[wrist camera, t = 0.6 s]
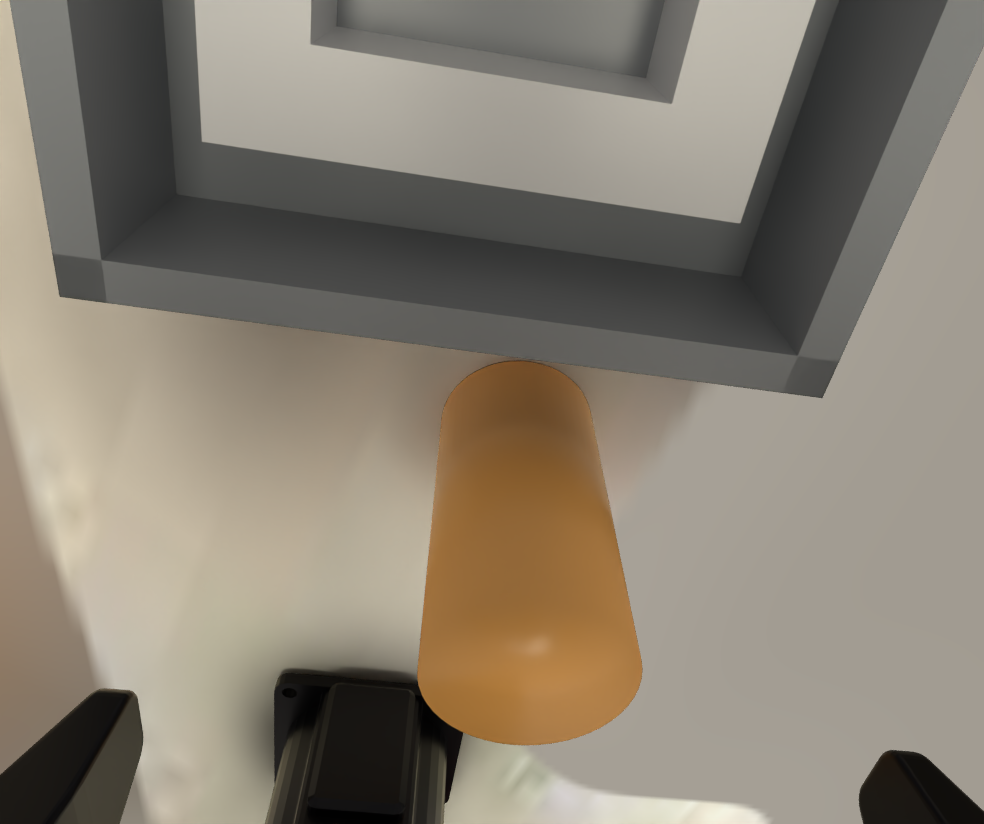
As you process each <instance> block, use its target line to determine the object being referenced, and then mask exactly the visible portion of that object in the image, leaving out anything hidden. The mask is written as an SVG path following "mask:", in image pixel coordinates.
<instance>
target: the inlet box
mask: <svg viewBox="0 0 984 824" xmlns="http://www.w3.org/2000/svg"><path fill="white" fill-rule="evenodd" d="M10 5H11V11H12V17H13V23H14V29H15V35H16V41H17V47H18V53H19V59H20V65H21V71H22V76H23V82H24V88H25V94H26V100H27V106H28V112H29V118H30V124H31V130H32V136H33V142H34V147H35V153H36V159H37V165H38V171H39V177H40V183H41V189H42V195H43V201H44V207H45V213H46V218H47V224H48V230H49V236H50V242H51V248H52V254H53V260H54V266H55V272H56V278H57V284H58V289H59V295H60V297H66V298H73V299H81V300H88V301H96V302H103V303H111V304H118V305H126V306H133V307H141V308H149V309H156V310H164V311H171V312H179V313H186V314H194V315H201V316H209V317H216V318H224V319H231V320H239V321H246V322H254V323H261V324H269V325H276V326H284V327H291V328H299V329H306V330H314V331H321V332H329V333H337V334H344V335H352V336H359V337H367V338H374V339H382V340H389V341H397V342H404V343H412V344H419V345H427V346H434V347H442V348H449V349H457V350H464V351H472V352H479V353H487V354H494V355H502V356H509V357H517V358H525V359H532V360H540V361H547V362H555V363H562V364H570V365H577V366H585V367H592V368H600V369H607V370H615V371H622V372H630V373H637V374H645V375H652V376H660V377H667V378H675V379H682V380H690V381H697V382H705V383H713V384H720V385H728V386H735V387H743V388H750V389H758V390H765V391H773V392H780V393H788V394H795V395H803V396H810V397H818V398H822V397H823V395H824V393H825V391H826V389H827V387H828V384H829V382H830V380H831V378H832V376H833V374H834V371H835V369H836V367H837V365H838V363H839V360H840V358H841V356H842V354H843V352H844V350H845V347H846V345H847V343H848V340H849V338H850V336H851V334H852V332H853V330H854V327H855V326H856V323H857V321H858V319H859V317H860V314H861V312H862V310H863V308H864V306H865V304H866V301H867V299H868V297H869V295H870V293H871V291H872V288H873V286H874V284H875V282H876V279H877V277H878V275H879V273H880V271H881V269H882V266H883V264H884V262H885V260H886V258H887V255H888V253H889V251H890V249H891V247H892V245H893V243H894V240H895V238H896V236H897V234H898V232H899V230H900V227H901V225H902V223H903V221H904V219H905V216H906V214H907V212H908V210H909V207H910V206H911V203H912V201H913V199H914V197H915V194H916V192H917V190H918V188H919V186H920V184H921V181H922V179H923V177H924V175H925V173H926V171H927V168H928V166H929V164H930V162H931V160H932V157H933V155H934V153H935V151H936V149H937V147H938V144H939V142H940V140H941V138H942V136H943V134H944V131H945V129H946V127H947V124H948V122H949V120H950V118H951V116H952V114H953V112H954V110H955V107H956V105H957V103H958V100H959V99H960V96H961V94H962V92H963V90H964V88H965V86H966V83H967V81H968V79H969V77H970V74H971V72H972V70H973V68H974V66H975V64H976V61H977V59H978V57H979V55H980V53H981V51H982V48H983V46H984V0H10Z"/></svg>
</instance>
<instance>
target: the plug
mask: <svg viewBox="0 0 984 824" xmlns="http://www.w3.org/2000/svg"><path fill="white" fill-rule="evenodd" d="M417 678H418V685H419V688H420V691H421V694H422V696H423V698H424V700H425V701H426V703H427V705H428V706H429V707H430V708H431V709H432V711H433V712H434V713H435V714H436V715H437V716H439V717H440V718H441V719H442V720H443V721H445V722H446V723H448V724H449V725H450V726H452V727H454V728H456V729H458V730H460V731H461V732H464V733H466V734H469V735H471V736H474V737H477V738H480V739H483V740H487V741H492V742H496V743H503V744H511V745H541V744H550V743H556V742H562V741H566V740H570V739H573V738H577V737H580V736H582V735H585V734H588V733H590V732H592V731H594V730H597V729H599V728H601V727H602V726H604V725H605V724H607V723H609V722H610V721H612V720H613V719H614V718H616V717H617V716H618V715H619V714H621V713H622V712H623V711H624V709H625V708H626V707H627V706H628V705H629V704H630V702H631V701H632V700H633V698H634V697H635V695H636V693H637V691H638V689H639V686H640V682H641V679H642V661H641V656H640V651H639V646H638V641H637V636H636V631H635V626H634V621H633V617H632V612H631V607H630V602H629V597H628V592H627V588H626V582H625V578H624V573H623V568H622V564H621V559H620V553H619V549H618V544H617V539H616V534H615V529H614V524H613V519H612V514H611V510H610V505H609V500H608V495H607V490H606V485H605V480H604V476H603V471H602V466H601V461H600V456H599V451H598V446H597V442H596V437H595V432H594V427H593V422H592V417H591V412H590V409H589V405H588V402H587V400H586V398H585V396H584V394H583V393H582V391H581V390H580V389H579V387H578V386H577V385H576V384H575V383H574V382H573V381H572V380H571V379H569V378H568V377H567V376H566V375H564V374H563V373H561V372H559V371H558V370H555V369H553V368H551V367H549V366H546V365H543V364H539V363H534V362H528V361H508V362H501V363H496V364H493V365H489V366H487V367H484V368H482V369H479V370H478V371H476V372H474V373H472V374H471V375H469V376H468V377H467V378H465V379H464V380H463V381H462V382H461V383H460V384H459V385H457V386H456V388H455V389H454V390H453V392H452V393H451V394H450V396H449V398H448V400H447V401H446V404H445V406H444V409H443V414H442V419H441V430H440V440H439V451H438V461H437V471H436V482H435V492H434V503H433V513H432V524H431V534H430V544H429V555H428V565H427V576H426V586H425V597H424V607H423V618H422V628H421V638H420V649H419V659H418V672H417Z"/></svg>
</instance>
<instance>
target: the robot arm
mask: <svg viewBox="0 0 984 824" xmlns="http://www.w3.org/2000/svg"><path fill="white" fill-rule="evenodd" d="M462 736H463V732H461V731H460V730H458V729H456V728H454V727H452V726H450V725H449V724H448V723H446V722H445V721H443V720H442V719H441V718H440V717H439V716H437V715H436V714H435V713H434V712H433V711H432V709H431V708H430V707H429V706H428V705H427V703H426V701H425V700H424V698H423V696H422V694H421V691H420V688H419V685H412V684H401V683H390V682H380V681H369V680H359V679H348V678H337V677H327V676H316V675H306V674H295V673H286V674H283V675H281V676H280V677H279V678H278V680H277V684H276V687H275V691H274V748H275V786H274V790H273V794H272V798H271V802H270V806H269V810H268V814H267V818H266V822H265V824H444V804H445V803H447V801H448V800H449V795H450V791H451V786H452V782H453V777H454V772H455V768H456V763H457V759H458V754H459V749H460V745H461V740H462ZM142 746H143V730H142V724H141V717H140V711H139V704H138V699H137V695H136V694H135V693H134V692H133V691H130V690H119V689H106V688H104V689H99V690H97V691H94V692H93V693H91V694H90V695H89V696H88V697H87V698H86V699H85V700H84V701H82V702H81V703H80V704H79V705H78V706H77V707H76V708H74V709H73V710H72V711H71V712H70V713H69V714H68V715H67V716H66V717H64V718H63V719H62V720H61V721H60V722H59V723H58V724H57V725H56V726H55V727H53V728H52V729H51V730H50V731H49V732H48V733H46V734H45V735H44V736H43V737H42V738H41V739H40V740H39V741H38V742H36V744H34V745H33V746H32V747H31V748H30V749H29V750H28V751H26V752H25V753H24V754H23V755H22V756H21V757H20V758H19V759H17V760H16V761H15V762H14V763H13V764H12V765H11V766H10V767H8V768H7V769H6V770H5V771H4V772H3V773H2V774H1V775H0V824H120V821H121V817H122V814H123V811H124V808H125V805H126V801H127V798H128V795H129V791H130V788H131V785H132V782H133V779H134V775H135V772H136V769H137V766H138V763H139V759H140V756H141V751H142ZM859 807H860V812H861V816H862V820H863V824H984V811H983V810H982V809H981V808H980V807H979V806H978V805H977V804H975V803H974V802H973V801H972V800H971V799H970V798H969V797H968V796H967V795H966V794H965V793H964V792H963V791H962V790H961V789H960V788H958V787H957V786H956V785H955V784H954V783H953V782H952V781H951V780H950V779H949V778H948V777H947V776H946V775H945V774H944V773H943V772H942V771H940V770H939V769H938V768H937V767H936V766H935V765H934V764H933V763H932V762H931V761H930V760H929V759H927V758H926V757H925V756H923V755H921V754H919V753H916V752H909V751H897V750H890V751H887V752H885V753H883V754H882V756H881V757H880V758H879V760H878V761H877V763H876V764H875V766H874V768H873V769H872V771H871V772H870V774H869V775H868V777H867V778H866V780H865V782H864V783H863V785H862V787H861V789H860V793H859Z"/></svg>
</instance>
